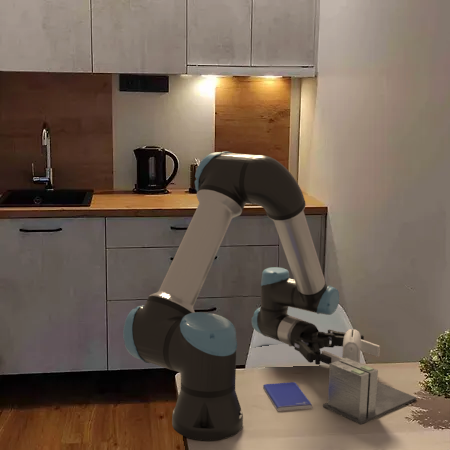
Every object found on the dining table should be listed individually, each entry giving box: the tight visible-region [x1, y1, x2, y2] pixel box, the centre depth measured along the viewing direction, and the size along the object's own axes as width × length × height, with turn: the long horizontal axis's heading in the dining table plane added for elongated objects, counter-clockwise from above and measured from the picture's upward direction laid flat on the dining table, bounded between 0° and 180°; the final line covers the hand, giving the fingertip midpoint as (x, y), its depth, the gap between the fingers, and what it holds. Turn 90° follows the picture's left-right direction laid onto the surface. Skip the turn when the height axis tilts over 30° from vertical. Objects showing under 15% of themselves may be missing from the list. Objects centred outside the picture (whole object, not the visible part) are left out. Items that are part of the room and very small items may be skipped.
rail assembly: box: [322, 358, 417, 425], centre depth 164 cm, size 20×11×11 cm, turn 130°
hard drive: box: [262, 381, 313, 412], centre depth 168 cm, size 2×8×12 cm
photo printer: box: [341, 328, 361, 363], centre depth 178 cm, size 10×4×12 cm, turn 168°
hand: (361, 357), depth 175 cm, fingers open, 13 cm apart
